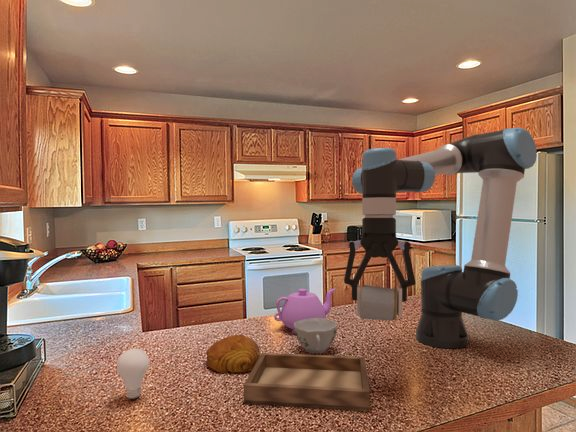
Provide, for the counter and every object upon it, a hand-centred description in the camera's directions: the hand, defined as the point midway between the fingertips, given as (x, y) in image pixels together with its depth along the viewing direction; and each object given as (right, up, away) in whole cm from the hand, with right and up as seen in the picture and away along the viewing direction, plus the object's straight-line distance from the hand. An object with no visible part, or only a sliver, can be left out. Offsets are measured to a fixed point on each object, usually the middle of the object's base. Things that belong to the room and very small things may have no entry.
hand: (378, 314), depth 88 cm
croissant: (-36, -17, +16) cm, 43 cm away
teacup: (-13, -17, +23) cm, 31 cm away
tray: (-16, -17, +1) cm, 23 cm away
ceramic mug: (0, -1, +1) cm, 2 cm away
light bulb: (-55, -18, -3) cm, 58 cm away
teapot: (-15, -16, +44) cm, 49 cm away
